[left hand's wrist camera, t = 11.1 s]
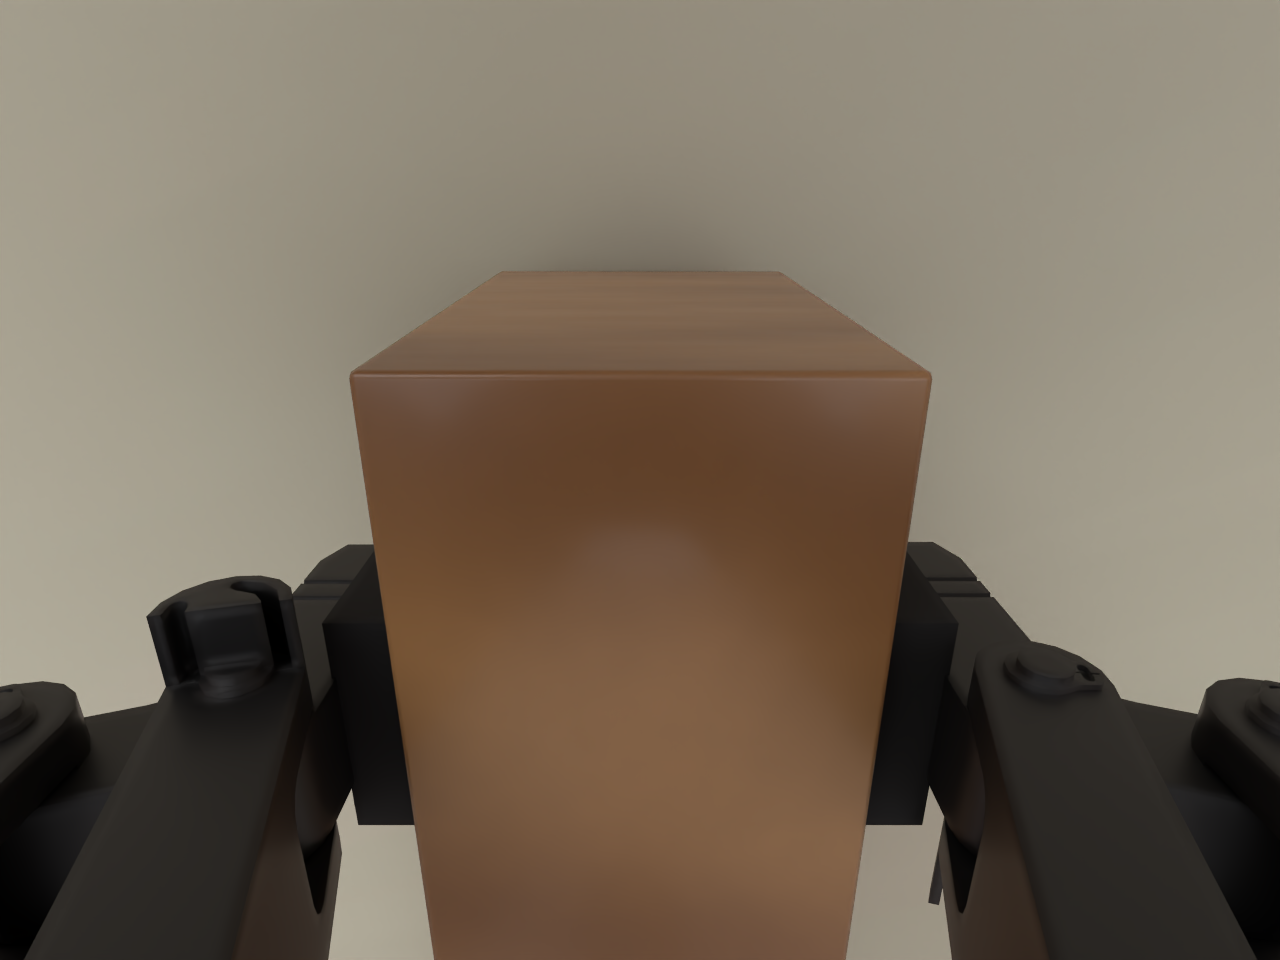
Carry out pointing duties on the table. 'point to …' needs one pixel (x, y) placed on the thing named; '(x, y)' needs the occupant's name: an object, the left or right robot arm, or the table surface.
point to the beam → (640, 607)
